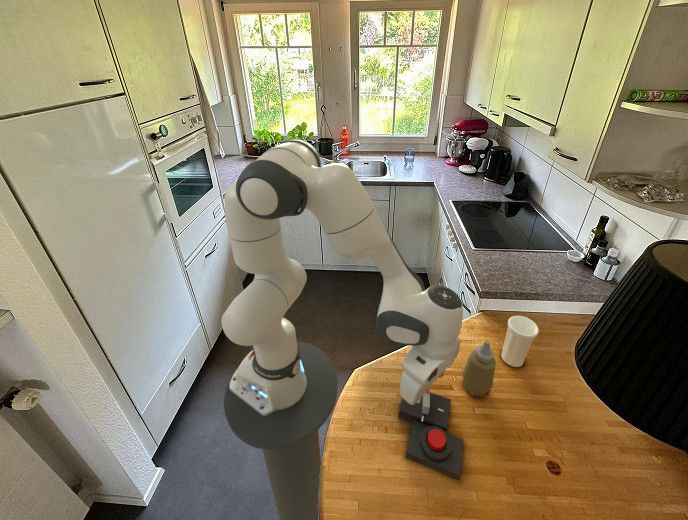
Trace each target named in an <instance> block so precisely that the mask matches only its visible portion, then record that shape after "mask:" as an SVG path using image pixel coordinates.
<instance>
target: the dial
mask: <svg viewBox="0 0 688 520" xmlns="http://www.w3.org/2000/svg"><path fill="white" fill-rule="evenodd" d="M430 390H431V389H430V388H429V389H428V390H427V391H426V392H425V393H424V394H423V409H422V413H423V414H429V409H430V392H431V391H430Z"/></svg>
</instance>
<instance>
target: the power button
mask: <svg viewBox="0 0 688 520" xmlns="http://www.w3.org/2000/svg"><path fill="white" fill-rule="evenodd" d="M427 442H428V445H429V447H430V448H431V449H432V450H434V451H436V452H440V451H442V450H443V449H444V447H445V443H446V438H445V435H444V434H443V433H442V432H441V431H440V430H437V429H433V430H431V431H430V432H429V434H428V439H427Z"/></svg>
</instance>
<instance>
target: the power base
mask: <svg viewBox="0 0 688 520" xmlns="http://www.w3.org/2000/svg"><path fill="white" fill-rule="evenodd" d="M433 429H437V430H440V431H441V432H442V433H443V434H444V435H445V438H446V443H445V447H444V449H443V450H442V451H440V452H436V451H434V450H432V449H431V448H430V447H429V445H428V442H427V439H428V434H429V432H430V431H431V430H433ZM463 448H464V438H461V437H459V436H456V435H453V434H451V433H448V432H447V431H446V432H445V431H444V430H443V429H442V428H439V427H436V426H431V427H430V426H428V425H425V424H423V423H420V422H418V421H415V420H414V421H413V423H412V426H411V430H410V435H409V439H408V444H407V448H406V452H405V458H406V459H408V460H411V461H413V462H415V463H418V464H420V465H423V466H424V467H426V468H429V469H431V470H434V471H436V472H439V473H441V474H444V475H446V476H447V477H449V478H452V479H454V480H457V481H459V480H460V476H461V469H462V460H463V459H462V457H463V450H464V449H463Z"/></svg>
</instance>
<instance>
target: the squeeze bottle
mask: <svg viewBox="0 0 688 520" xmlns="http://www.w3.org/2000/svg"><path fill="white" fill-rule="evenodd" d="M496 363H497V361H496V358H495V353H494V350H493V349H492V348H491V342H490V340H489V339H488V340H485V341H484V342H483V343H482V344H479V345H477V346H476V347H475V349H473V350H471V352H470V354H469V356H468V358H467V360H466V363H465V365H464V368H463V370H462V374H461V375H462V380H463V384H464V388H465V389H466V391H467V392H468V393H469V394H470V395H473V396H475V397H481V396H484V395H485V394H487V393H488V392H489V391H490V390H491V389H492V388H493V384H494V377H495V370H496Z"/></svg>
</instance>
